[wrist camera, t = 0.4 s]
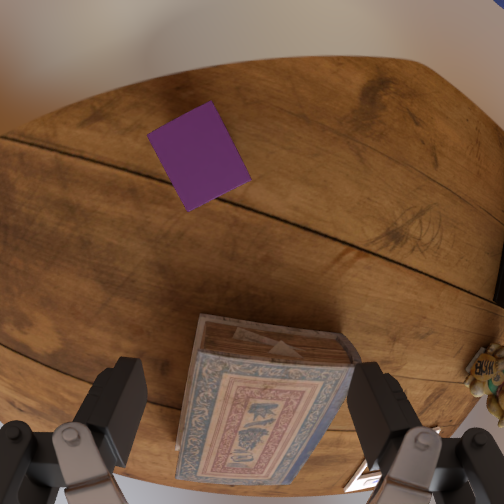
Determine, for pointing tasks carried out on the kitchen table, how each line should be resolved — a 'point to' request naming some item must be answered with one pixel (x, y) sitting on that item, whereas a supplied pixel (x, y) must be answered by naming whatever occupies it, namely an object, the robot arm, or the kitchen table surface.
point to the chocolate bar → (199, 156)
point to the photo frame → (367, 476)
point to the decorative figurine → (488, 378)
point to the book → (258, 400)
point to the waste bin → (500, 284)
